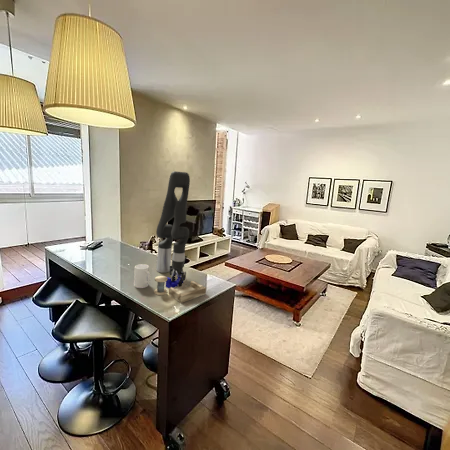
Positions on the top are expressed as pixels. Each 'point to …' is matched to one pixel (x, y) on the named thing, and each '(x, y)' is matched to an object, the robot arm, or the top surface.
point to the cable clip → (172, 283)
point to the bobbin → (160, 285)
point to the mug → (141, 276)
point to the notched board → (187, 292)
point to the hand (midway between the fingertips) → (176, 284)
